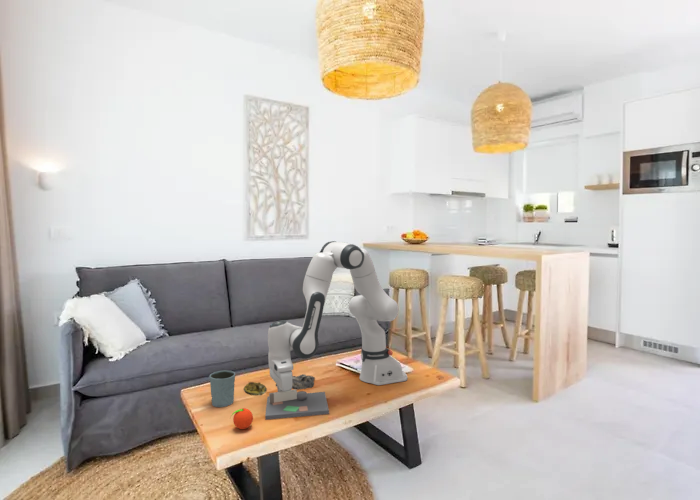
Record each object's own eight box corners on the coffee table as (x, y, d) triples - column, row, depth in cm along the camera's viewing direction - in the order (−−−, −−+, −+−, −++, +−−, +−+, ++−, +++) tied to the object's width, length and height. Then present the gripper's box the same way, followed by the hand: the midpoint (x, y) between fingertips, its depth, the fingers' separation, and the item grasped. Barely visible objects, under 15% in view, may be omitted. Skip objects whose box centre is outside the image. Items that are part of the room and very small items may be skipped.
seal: (239, 390, 186) (252, 400, 174) (237, 380, 185) (250, 390, 173) (258, 382, 191) (272, 392, 179) (256, 373, 191) (270, 382, 178)
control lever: (305, 395, 171) (305, 386, 170) (308, 399, 167) (307, 390, 166) (268, 401, 166) (268, 391, 165) (270, 405, 162) (270, 395, 161)
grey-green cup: (209, 400, 172) (208, 372, 171) (234, 396, 176) (233, 368, 175) (211, 410, 162) (210, 380, 162) (237, 405, 166) (236, 376, 166)
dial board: (324, 395, 174) (324, 391, 174) (329, 413, 157) (328, 409, 157) (267, 399, 171) (267, 396, 171) (265, 419, 153) (265, 415, 153)
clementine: (231, 435, 142) (231, 415, 142) (229, 426, 148) (228, 407, 148) (255, 430, 145) (254, 410, 145) (251, 421, 152) (250, 403, 151)
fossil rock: (322, 386, 185) (311, 376, 199) (321, 378, 185) (311, 368, 198) (281, 395, 177) (273, 383, 191) (280, 386, 177) (272, 375, 191)
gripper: (265, 355, 174) (266, 387, 175) (279, 369, 156) (280, 405, 156) (279, 353, 177) (280, 384, 178) (294, 367, 159) (296, 401, 159)
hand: (280, 394), depth 167 cm, fingers closed
